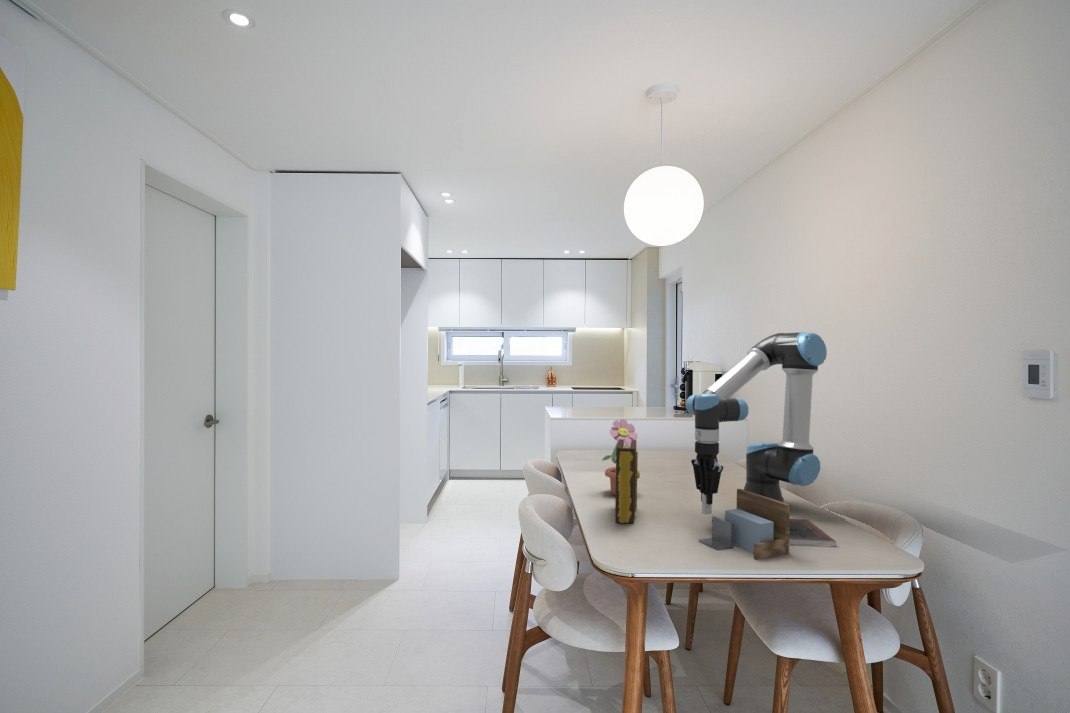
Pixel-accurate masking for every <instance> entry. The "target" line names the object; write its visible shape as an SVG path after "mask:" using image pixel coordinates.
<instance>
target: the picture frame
mask: <svg viewBox="0 0 1070 713" xmlns="http://www.w3.org/2000/svg"><path fill="white" fill-rule="evenodd" d="M789 545H791V546H792V545H793V546H794V545H795V546H797V545H798V546H812V545H830V546H829V547H832V546H836V547H837V541H836V540H835V539H834V538H832V537H831V536H830V535H829V534H828V533H826V532H825V531H823V529H821V528H819V527H818V526H817V525H816V524H815V523H813V522H812V521H811V520H810V519H807V518H790V524H789Z"/></svg>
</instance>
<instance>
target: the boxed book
mask: <svg viewBox="0 0 1070 713" xmlns="http://www.w3.org/2000/svg"><path fill="white" fill-rule="evenodd" d="M724 520H726V521H728V522H731V523H733V524H734V541H733V545H736V546H738V547H739V548H743V549H744V550H747V551H749V552H751V553H753V554H754V544H755V543H762V542H768V541H773V529H774V522H772V521H769V520H767V519H764V518H761V517H759V516H756V515H753V514H751V513H748V512H745V511H742V510H740V509H737V508H733V509H726V510H724Z"/></svg>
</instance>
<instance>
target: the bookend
mask: <svg viewBox="0 0 1070 713" xmlns="http://www.w3.org/2000/svg"><path fill="white" fill-rule="evenodd" d="M733 541H734V524H733V523H731V522H728V521H726V520H725V519H723V518H721V517H718V516H716V515H712V516H711V537H706V538H699V539H698V542H700V543H702V544H704V545H706V546H708V547H710V548H712V549H714V550H716V551H720V550H726V549H727V550H728V549H733V548H734V544H733Z"/></svg>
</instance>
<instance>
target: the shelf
mask: <svg viewBox="0 0 1070 713" xmlns="http://www.w3.org/2000/svg"><path fill="white" fill-rule="evenodd" d="M790 507H791V504H789V503H786V502H785V501H784V502H780V501H777V500H774V499H771V498H768V497H765V496H762V495H758V494H755V493H752V492H749V491H746V490H744V488H743V489H742V488H737V489H736V509H740V510H742V511H745V512H748V513H751V514H753V515H756V516H759V517H761V518H764V519H767V520H769V521H772V522H774V529H773V541H768V542H762V543H755V544H754V553H753V559H755V560H762V559H765V558H767V559H768V558H771V557H777V556H782V555H788V554H790V544H789V524H790V519H791V516H790V512H791V511H790V510H791V508H790Z"/></svg>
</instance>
